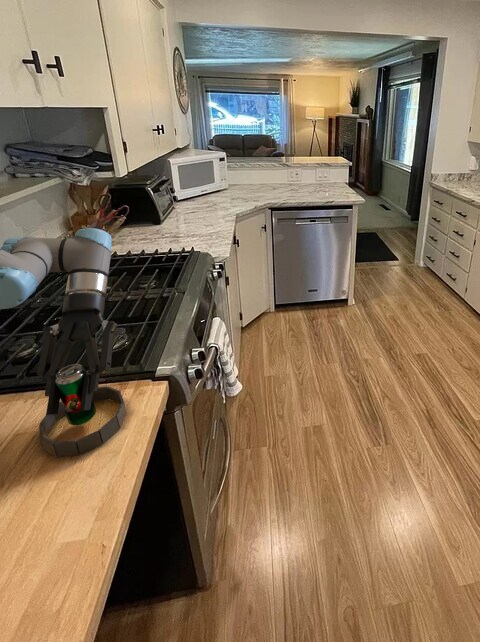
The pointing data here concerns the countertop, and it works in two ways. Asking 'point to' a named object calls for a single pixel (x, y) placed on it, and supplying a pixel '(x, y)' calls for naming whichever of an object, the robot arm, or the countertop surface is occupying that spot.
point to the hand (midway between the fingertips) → (68, 412)
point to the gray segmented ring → (90, 440)
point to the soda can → (73, 394)
